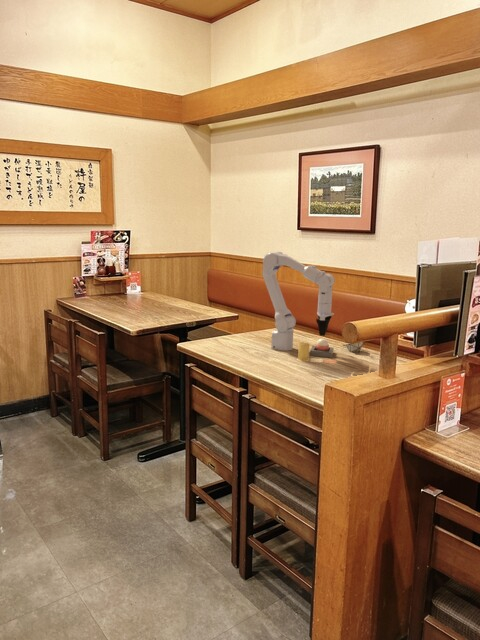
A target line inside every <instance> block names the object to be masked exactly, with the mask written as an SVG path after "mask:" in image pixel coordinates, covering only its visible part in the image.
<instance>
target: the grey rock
mask: <svg viewBox="0 0 480 640" xmlns="http://www.w3.org/2000/svg"><path fill="white" fill-rule="evenodd" d="M365 344H366V342H363V341H362V342H360V343H355V344H348V343H346V342H345V344H343V345H342V346H343V347H345V348H347V350H348V351H349V352H350V353H357V352H361V349H362V347H363V345H365Z"/></svg>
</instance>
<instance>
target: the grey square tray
mask: <svg viewBox="0 0 480 640" xmlns="http://www.w3.org/2000/svg"><path fill="white" fill-rule="evenodd" d="M333 354H334V347H333V346H332V347H330V346H329V350H327V351H320V350H316V345H312V347H311V349H309V357H318V358H319V357H320V358H330V359H332V357H333Z"/></svg>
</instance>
